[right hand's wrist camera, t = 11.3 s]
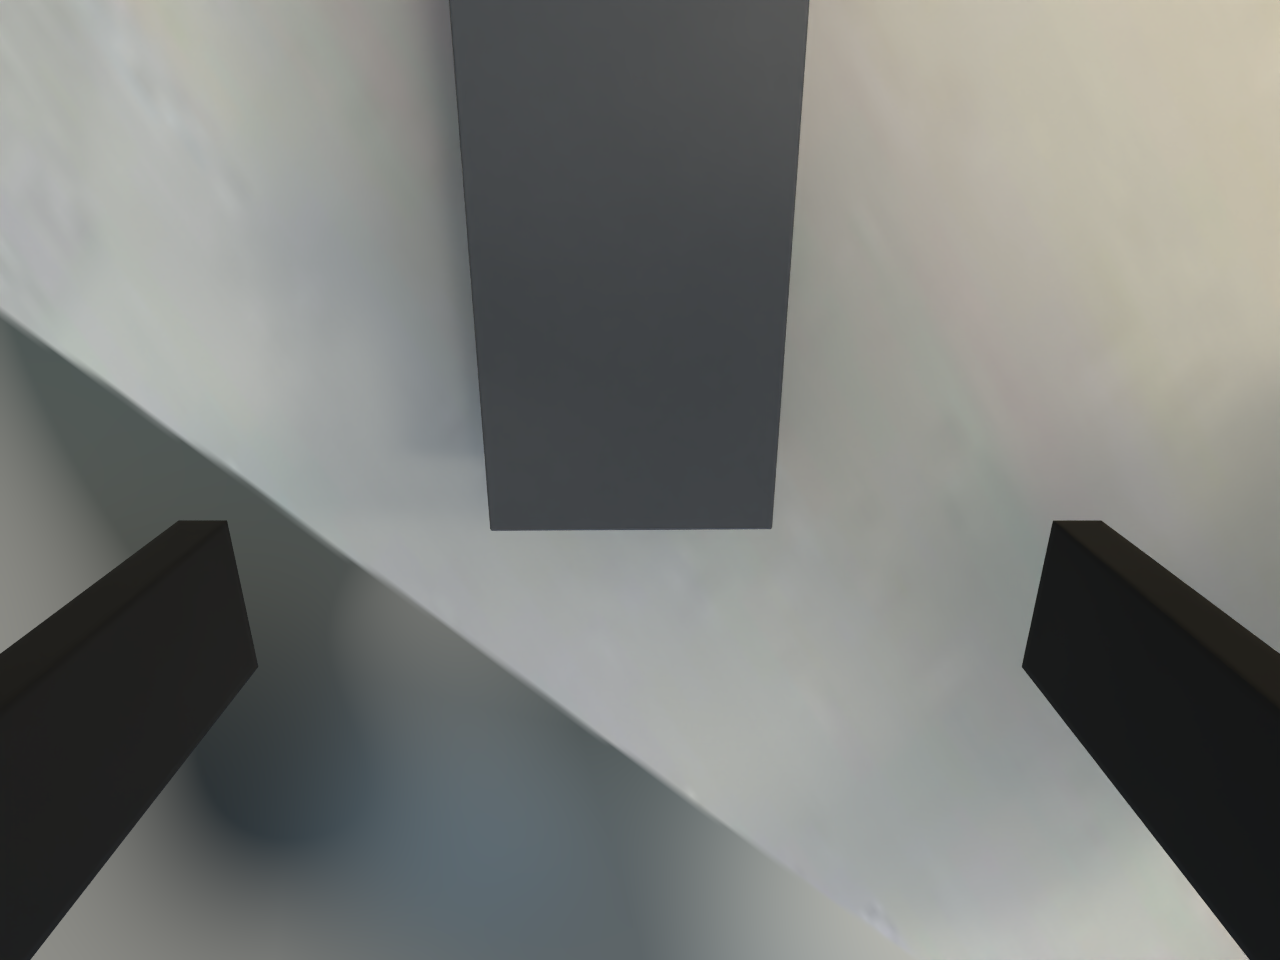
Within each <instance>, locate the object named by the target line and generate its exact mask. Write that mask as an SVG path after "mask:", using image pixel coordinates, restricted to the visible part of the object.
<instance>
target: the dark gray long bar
mask: <svg viewBox="0 0 1280 960" xmlns="http://www.w3.org/2000/svg"><path fill="white" fill-rule="evenodd" d="M449 7H450V19H451V32H452V45H453V58H454V71H455V83H456V96H457V109H458V122H459V135H460V147H461V160H462V173H463V186H464V199H465V211H466V224H467V237H468V250H469V263H470V275H471V288H472V301H473V314H474V327H475V339H476V352H477V365H478V378H479V391H480V403H481V416H482V429H483V442H484V454H485V467H486V480H487V493H488V506H489V518H490V529H491V530H492V531H520V530H688V529H771V528H772V521H773V507H774V492H775V478H776V464H777V450H778V436H779V422H780V408H781V394H782V379H783V365H784V351H785V337H786V323H787V309H788V295H789V281H790V267H791V252H792V238H793V224H794V210H795V196H796V182H797V168H798V154H799V140H800V125H801V111H802V97H803V83H804V69H805V55H806V41H807V27H808V12H809V0H449Z"/></svg>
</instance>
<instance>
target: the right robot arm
mask: <svg viewBox="0 0 1280 960" xmlns="http://www.w3.org/2000/svg"><path fill="white" fill-rule="evenodd" d="M257 668H258V664H257V659H256V654H255V649H254V645H253V640H252V635H251V631H250V626H249V621H248V617H247V612H246V608H245V603H244V598H243V594H242V589H241V584H240V579H239V575H238V570H237V565H236V561H235V556H234V552H233V547H232V542H231V537H230V533H229V528H228V524H227V521H177V522H176V523H175V524H173V525H172V526H171V527H169V528H168V529H167V530H165V531H164V532H163V533H161V534H160V535H159V536H157V537H156V538H155V539H153V540H152V541H151V542H149V543H148V544H147V545H145V546H144V547H143V548H141V549H140V550H139V551H137V552H136V553H135V554H133V555H132V556H131V557H129V558H128V559H127V560H125V561H124V562H123V563H121V564H120V565H119V566H117V567H116V568H115V569H113V570H112V571H111V572H109V573H108V574H107V575H105V576H104V577H103V578H101V579H100V580H98V581H97V582H96V583H95V584H93V585H92V586H91V587H89V588H88V589H86V590H85V591H84V592H82V593H81V594H80V595H78V596H77V597H76V598H74V599H73V600H72V601H70V602H69V603H68V604H66V605H65V606H64V607H62V608H61V609H60V610H58V611H57V612H56V613H54V614H53V615H52V616H50V617H49V618H48V619H46V620H45V621H44V622H42V623H41V624H40V625H38V626H37V627H36V628H34V629H33V630H32V631H30V632H29V633H28V634H26V635H25V636H24V637H22V638H21V639H20V640H18V641H17V642H16V643H14V644H13V645H12V646H10V647H9V648H7V649H6V650H5V651H3V652H2V653H1V654H0V960H30V959H31V958H32V957H33V956H34V954H35V953H36V952H37V950H38V949H39V948H40V947H41V945H42V944H43V943H44V942H45V940H46V939H47V938H48V936H49V935H50V934H51V932H52V931H53V930H54V929H55V927H56V926H57V925H58V923H59V922H60V921H61V920H62V918H63V917H64V916H65V915H66V913H67V912H68V911H69V909H70V908H71V907H72V906H73V904H74V903H75V902H76V900H77V899H78V898H79V897H80V895H81V894H82V893H83V891H84V890H85V889H86V888H87V886H88V885H89V884H90V882H91V881H92V880H93V879H94V877H95V876H96V875H97V873H98V872H99V871H100V870H101V868H102V867H103V866H104V864H105V863H106V862H107V861H108V859H109V858H110V857H111V855H112V854H113V853H114V852H115V850H116V849H117V848H118V846H119V845H120V844H121V843H122V841H123V840H124V839H125V837H126V836H127V835H128V834H129V832H130V831H131V830H132V828H133V827H134V826H135V825H136V823H137V822H138V821H139V819H140V818H141V817H142V816H143V814H144V813H145V812H146V810H147V809H148V808H149V807H150V805H151V804H152V803H153V801H154V800H155V799H156V797H157V796H158V795H159V794H160V792H161V791H162V790H163V788H164V787H165V786H166V785H167V783H168V782H169V781H170V780H171V778H172V777H173V776H174V774H175V773H176V772H177V771H178V769H179V768H180V767H181V765H182V764H183V763H184V762H185V760H186V759H187V758H188V756H189V755H190V754H191V753H192V751H193V750H194V749H195V747H196V746H197V745H198V743H199V742H200V741H201V740H202V738H203V737H204V736H205V735H206V733H207V732H208V731H209V729H210V728H211V727H212V726H213V724H214V723H215V722H216V720H217V719H218V718H219V717H220V715H221V714H222V713H223V711H224V710H225V709H226V708H227V706H228V705H229V704H230V702H231V701H232V700H233V699H234V697H235V696H236V695H237V693H238V692H239V691H240V690H241V688H242V687H243V686H244V684H245V683H246V682H247V681H248V679H249V678H250V677H251V675H252V674H253V673H254V672H255V670H256V669H257ZM1022 668H1023V669H1024V670H1025V672H1026V673H1027V674H1028V675H1029V677H1030V678H1031V679H1032V681H1033V682H1034V683H1035V684H1036V686H1037V687H1038V688H1039V690H1040V691H1041V692H1042V693H1043V695H1044V696H1045V697H1046V699H1047V700H1048V701H1049V702H1050V704H1051V705H1052V706H1053V708H1054V709H1055V710H1056V711H1057V713H1058V714H1059V715H1060V717H1061V718H1062V719H1063V720H1064V722H1065V723H1066V724H1067V726H1068V727H1069V728H1070V729H1071V731H1072V732H1073V733H1074V735H1075V736H1076V737H1077V738H1078V740H1079V741H1080V742H1081V744H1082V745H1083V746H1084V747H1085V749H1086V750H1087V751H1088V753H1089V754H1090V755H1091V756H1092V758H1093V759H1094V760H1095V762H1096V763H1097V764H1098V765H1099V767H1100V768H1101V769H1102V771H1103V772H1104V773H1105V774H1106V776H1107V777H1108V778H1109V780H1110V781H1111V782H1112V783H1113V785H1114V786H1115V787H1116V789H1117V790H1118V791H1119V792H1120V794H1121V795H1122V796H1123V798H1124V799H1125V800H1126V801H1127V803H1128V804H1129V805H1130V807H1131V808H1132V809H1133V810H1134V812H1135V813H1136V814H1137V816H1138V817H1139V818H1140V819H1141V821H1142V822H1143V823H1144V825H1145V826H1146V827H1147V828H1148V830H1149V831H1150V832H1151V834H1152V835H1153V836H1154V837H1155V839H1156V840H1157V841H1158V843H1159V844H1160V845H1161V846H1162V848H1163V849H1164V850H1165V852H1166V853H1167V854H1168V855H1169V857H1170V858H1171V859H1172V861H1173V862H1174V863H1175V864H1176V866H1177V867H1178V868H1179V870H1180V871H1181V872H1182V873H1183V875H1184V876H1185V877H1186V879H1187V880H1188V881H1189V882H1190V884H1191V885H1192V886H1193V888H1194V889H1195V890H1196V891H1197V893H1198V894H1199V895H1200V897H1201V898H1202V899H1203V900H1204V902H1205V903H1206V904H1207V906H1208V907H1209V908H1210V909H1211V911H1212V912H1213V913H1214V915H1215V916H1216V917H1217V918H1218V920H1219V921H1220V922H1221V924H1222V925H1223V926H1224V927H1225V929H1226V930H1227V931H1228V933H1229V934H1230V935H1231V936H1232V938H1233V939H1234V940H1235V942H1236V943H1237V944H1238V945H1239V947H1240V948H1241V949H1242V951H1243V952H1244V953H1245V954H1246V956H1247V957H1248V958H1249V960H1280V654H1279V653H1278V652H1277V651H1275V650H1274V649H1273V648H1271V647H1270V646H1269V645H1267V644H1266V643H1264V642H1263V641H1262V640H1260V639H1259V638H1258V637H1256V636H1255V635H1254V634H1252V633H1251V632H1250V631H1248V630H1247V629H1246V628H1244V627H1243V626H1242V625H1240V624H1239V623H1238V622H1236V621H1235V620H1234V619H1232V618H1231V617H1230V616H1228V615H1227V614H1226V613H1224V612H1223V611H1222V610H1220V609H1219V608H1218V607H1216V606H1215V605H1214V604H1212V603H1211V602H1210V601H1208V600H1207V599H1206V598H1204V597H1203V596H1202V595H1200V594H1199V593H1198V592H1196V591H1195V590H1194V589H1192V588H1191V587H1190V586H1188V585H1187V584H1186V583H1184V582H1183V581H1182V580H1180V579H1179V578H1177V577H1176V576H1175V575H1173V574H1172V573H1171V572H1169V571H1168V570H1167V569H1165V568H1164V567H1163V566H1161V565H1160V564H1159V563H1157V562H1156V561H1155V560H1153V559H1152V558H1151V557H1149V556H1148V555H1147V554H1145V553H1144V552H1143V551H1141V550H1140V549H1139V548H1137V547H1136V546H1135V545H1133V544H1132V543H1131V542H1129V541H1128V540H1127V539H1125V538H1124V537H1123V536H1121V535H1120V534H1119V533H1117V532H1116V531H1115V530H1113V529H1112V528H1111V527H1109V526H1108V525H1107V524H1105V523H1104V522H1103V521H1053V523H1052V528H1051V533H1050V537H1049V542H1048V547H1047V551H1046V556H1045V561H1044V565H1043V570H1042V575H1041V579H1040V584H1039V589H1038V593H1037V598H1036V603H1035V607H1034V612H1033V617H1032V621H1031V626H1030V631H1029V635H1028V640H1027V645H1026V649H1025V654H1024V659H1023V663H1022Z"/></svg>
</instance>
